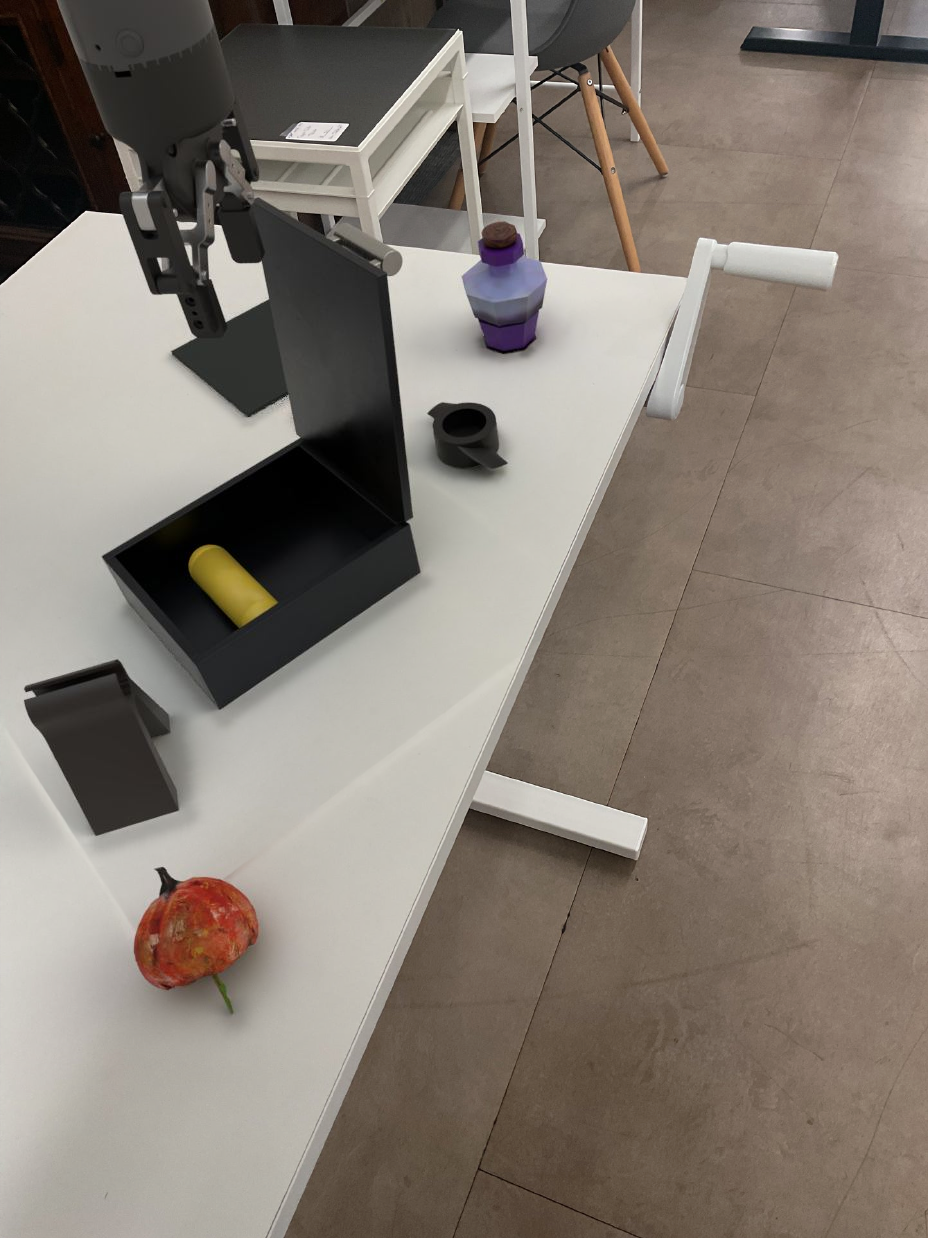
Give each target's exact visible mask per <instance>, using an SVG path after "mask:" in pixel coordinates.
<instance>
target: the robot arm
mask: <svg viewBox="0 0 928 1238" xmlns="http://www.w3.org/2000/svg"><path fill="white" fill-rule="evenodd" d="M56 2H57V3H56V4H57V5H58V9H59V11H60V14H61V17H62V19H63V22H64V24H65V27H66V29H67V32H68V35H69V37H70V40H71V43H72V45H73V48H74V50H75V53H76V56H77V58H78V62H79V63H80V67H81V69H82V71H83V74H84V77H85V79H86V81H87V85H88V87H89V90H90V92H91V95H92V97H93V100H94V103H95V105H96V108H97V110H98V113H99V116H100V119H101V121H102V123H103V126H104V128H105V130H106V132H107V133H108V135H110V136H111V137H112V138H113V139H115V140H116V141H118V142H120V143H123V144H124V145H126V146H128V147H129V148H130V149H132V150H133V151H134V152H135V153H136V154H137V157H138V162H139V163H138V164H139V166H140V172H141V173H140V175H141V181H142V185H141V186H140V187H139V189H138V190H134V191H122V192H121V193H119V197H118V206H119V209H120V211H121V214H122V217H123V219H124V222H125V225H126V228H127V231H128V234H129V236H130V239H131V243H132V245H133V248H134V250H135V251H134V252H135V253H136V256H137V259H138V262H139V264H140V267H141V270H142V273H143V277H144V278H145V282H146V285H147V287H148V289H149V292H150V293H151V294H152V295H153V296H162V295H176V296H177V299H178V301H179V304H180V307H181V310H182V311H183V315H184V317H185V318H184V319H185V320H186V323H187V326H188V328H189V330H190V333H191V334H192V335H193V336H194V338H197V337H198V338H221V337H223V335H224V333H225V331H226V329H227V324H226V322H227V321H226V318H225V315H224V313H223V310H222V306H221V304H220V301H219V298H218V295H217V294H218V293H217V292H216V289H215V286H214V283H213V280H212V279H211V278H210V270H209V268H210V267H209V266H210V265H209V248H210V247H211V246H212V245H213V244H214V243H215V240H216V232H215V211H216V207H219V208H218V210H217V213H216V214H217V217H218V219H219V223H220V226H221V230H222V233H223V235H224V239H225V242H226V244H227V248H228V251H229V255H230V257H231V259H232V261H233V262H235V263H237V264H241V265H242V264H260V263H262V259H263V257H264V255H265V251H264V247H263V244H262V240H261V237H260V233H259V230H258V226H257V223H256V220H255V216H254V213H253V209H252V206H250V205H253V203H254V199H255V192H254V189H253V186H252V185H251V184H252V183H257V182H259V180H260V169H259V165H258V162H257V159H256V156H255V152H254V148H253V146H252V143H251V138H250V136H249V135H250V134H249V132H248V129H247V125H246V122H245V120H244V115H243V112H242V109H241V106H240V102H239V100H238V96H237V93H236V91H235V89H234V88H233V86H232V85H233V84H232V81H231V78H230V75H229V71H228V67H227V64H226V61H225V57H224V54H223V49H222V46H221V43H220V38H219V35H218V31H217V28H216V24H215V21H214V17H213V13H212V10H211V7H210V4H209V3H210V2H209V0H56ZM232 150H233V151H234V150H235V151H236V152H238V154H239V157H240V160H241V162H239V160H238V159H237V158H236V157H235V156H234V155H233V153H232ZM179 223H196V225H195V226H194V227H193V228H191V229H180V227H179ZM186 246H190V247H191V261H192V263H191V261H190V258H189V255H188V252H187V249H186ZM158 259H161V265H160V263H159V260H158Z"/></svg>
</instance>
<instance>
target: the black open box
mask: <svg viewBox="0 0 928 1238" xmlns="http://www.w3.org/2000/svg"><path fill="white" fill-rule="evenodd" d="M205 545H216V546H219V547H221V548H223V549H224V550H226V551H227V552H228V553H229V554H230V555H231V556H232V557H233V558H234V559H235V560H236V561H237V562H238V563H239V564H240V565H241V566H242V567H243V568H244V569H245V570H246V571H247V572H248V573H249V574H250V575H251V576H252V577H253V578H254V579H255V580H256V581H257V582H258V583H259V584H260V585H261V586H262V587H263V588H264V589H265V590H266V591H267V592H268V593H269V594H270V595H271V596H272V597H273V598H274V599H275V600H276V601H277V602H278V603H277V604H276V605H274V606H272V607H271V608H269V609H268V610H266V611H265V612H263V613H262V614H260V615H259V616H257V617H256V618H254V619H253V620H251V621H250V622H248V623H247V624H245V625H244V626H242V627H241V628H238V627H237V626H236V625H235V623H234V622H233V621H232V620H231V619H230V618H229V617H228V616H227V615H226V614H225V613H224V612H223V611H222V610H221V609H220V608H219V606H218V605H217V604H216V603H215V602H214V601H213V600H212V599H211V598H210V597H209V596H208V595H207V594H206V593H205V592H204V591H203V589H202V588H201V587H200V586H199V585H198V584H197V583H196V582H195V581H194V580H193V578H192V577H191V575H190V572H189V560H190V557H191V555H192V554H193V553H194V551H195V550H197V549H198V548H200V547H202V546H205ZM415 545H416V544H415V541H414V535H413V531H412V527H411V524H410V523H409V522H408V521H406V522H405V521H404V520H402V519H401V518H400V517H399V516H397V515H396V514H395V513H394V512H392V511H391V510H390V509H389V508H387V507H386V506H385V505H384V504H382V503H381V502H380V501H379V500H377V499H376V498H375V497H374V496H372V495H371V494H370V493H369V492H367V491H366V490H365V489H364V488H362V487H361V486H360V485H359V484H357V483H356V482H355V481H354V480H353V479H351V478H350V477H349V476H348V475H346V474H345V473H344V472H343V471H341V470H340V469H339V468H338V467H336V466H335V465H334V464H333V463H331V462H330V461H329V460H328V459H326V458H325V457H324V456H323V455H321V454H320V453H319V452H318V451H316V450H315V449H314V448H313V447H311V446H310V445H309V444H308V443H307V442H305V441H304V440H303V439H302V438H300V437H299V438H297V439H296V440H294V441H292V442H290V443H289V444H287V445H285V446H284V447H282V448H280V449H279V450H277V451H276V452H274V453H271V454H270V455H268V456H267V457H265V458H264V459H262V460H260V461H259V462H257V463H255V464H254V465H252V466H250V467H248V468H247V469H245V470H243V471H242V472H240V473H238V474H236V475H235V476H234V477H232V478H230V479H228V480H227V481H225V482H223V483H221V484H220V485H218V486H217V487H215V488H214V489H211V490H210V491H208V492H207V493H205V494H203V495H202V496H200V497H198V498H197V499H194V500H193V501H192V502H190V503H188V504H187V505H185V506H183V507H181V508H180V509H178V510H177V511H175V512H173V513H172V514H170V515H168V516H166V517H165V518H163V519H161V520H160V521H158V522H156V523H154V524H153V525H151V526H150V527H148V528H146V529H145V530H143V531H141V532H139V533H137V534H136V535H134V536H133V537H131V538H130V539H128V540H126V541H124V542H122V543H121V544H119V545H118V546H116V547H115V548H113V549H111V550H109V551H108V552H106V553H104V554H103V555H101V558H102V560H103V562H104V564H105V565H106V567H107V568H108V571H109V573H110V574H111V576H112V578H113V580H114V581H115V583H116V584H117V586H118V589H119V590H120V591H121V593H122V595H123V598H124V599H125V600H126V602H127V603H128V604H129V606H130V607H131V608H132V609H133V610H134V612H135V613H136V614H137V615H138V616H139V617H140V618H141V620H142V621H143V622H144V623H145V624H146V626H148V628H149V629H150V630H151V631H152V633H153V634H154V635H155V636H156V637H157V639H158V640H159V641H160V642H161V643H162V645H164V647H165V648H166V649H167V651H168V652H170V654H171V655H172V657H174V658H175V660H176V661H177V662H178V663H179V665H180V666H181V667H182V668H183V669H184V670H185V671H186V673H187V674H188V675H189V676H190V677H191V679H192V680H193V681H194V682H195V683H196V684H197V686H198V687H199V688H200V689H201V690H202V691H203V692H204V694H205V695H206V696H207V697H208V698H209V699H210V701H211V702H212V703H213V704H214V705H215V707H216V708H217V709H218V710H219V711H221V710H223V709H224V708H225V707H227V706H228V705H230V704H232V702H234V701H235V700H237V699H238V698H240V697H242V696H243V695H244V694H246V693H248V692H249V691H250V690H251V689H253V688H255V687H256V686H257V685H259V684H260V683H262V682H263V681H264V680H266V679H268V678H269V677H270V676H272V675H274V674H275V673H277V671H279V670H281V669H282V668H284V667H285V666H286V665H288V664H290V663H291V662H292V661H294V660H295V659H296V658H298V657H300V656H301V655H303V654H304V653H305V652H308V650H310V649H311V648H313V647H314V646H316V645H317V644H319V643H320V642H321V641H323V640H324V639H326V638H328V637H329V636H330V635H332V634H333V633H335V632H336V631H338V630H339V629H341V628H342V627H343V626H345V625H346V624H348V623H349V622H350V621H352V620H353V619H356V617H358V616H359V615H361V614H362V613H364V612H365V611H367V610H369V609H370V608H371V607H373V606H374V605H376V604H377V603H379V602H380V601H381V600H382V599H384V598H386V597H387V596H389V595H390V594H391V593H393V592H394V591H395V590H397V589H398V588H400V587H401V586H403V585H405V584H406V583H408V582H409V581H411V580H413V578H415V577H417V575H419V574H421V573H422V572H421V567H420V563H419V558H418V554H417V553H418V552H417V549H416V546H415Z"/></svg>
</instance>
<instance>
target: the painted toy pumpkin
mask: <svg viewBox="0 0 928 1238" xmlns="http://www.w3.org/2000/svg"><path fill="white" fill-rule="evenodd" d="M153 870H154V871H155V872H157V874H158V876H159V879H160V883H161V885H160V889H159V893H158V897H157V898H155V899H154V900H153V901H152V902H150V904H149V906H148V908H146V910H145V911H144V913H143V915H142V917H141V920H140V921H139V924H138V925H137V929H136V931H135V934H134V935H135V936H134V939H133V954H134V959H135V962H136V965H137V967H138V969H139V971H140V973H141V975H142V977H143V978H144V979H145V980H146V981H147V982H148V984H150V985H152V986H153V987H156V988H157V989H160V990H164V991H170V990H172V989H175V988H176V987H178V988H179V987H182V988H183V987H187V986H190V985H192V984H194V983H196V982H197V981H198V980H199V979H202V978H206V977H207V976H208V977H209V976H211V978H212V979H213V981H214V982H215V984H216V987H217V989H218V990H219V992H220V994H221V996H222V998H223V1000H224V1002H225V1004H226V1007H227V1009H228V1011H229V1013H230V1014H231V1015H233V1014H234V1010H233V1006H232V1002H231V1000H230V998H229V997H228V994H227V985H226V984H225V983H223V982H222V981H221V980H220V978H219V976H218V974H220V973H222V972H223V971H226V970H227V969H228V968H230V967H231V966H232V965H233V964H234V962H236V961H237V960H238V959H240V958H242V956H243V955H244V954H245V952H246V951H247V949H248V947H249V946H253V945H254V944H256V943H257V939H258V936H259V920H258V916H257V912H256V910H255V908H254V905H252V902H251V901H250V900H249V898H248V896H246V895H245V894H244V893H243V892H242V891H241V890H240V889H239V888H237V887H236V886H234V885H233V884H231V883H229V882H227V881H225V880H223V879H221V878H215V877H212V876H211V877H208V876H193V877H190V878H189V879H186V880H182V881H181V880H179V879H175V878H174V877H173V876H172V875H170V873H169V872H168V870H167V868H166V867H165V866H159V867H155V868H153Z"/></svg>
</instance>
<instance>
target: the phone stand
mask: <svg viewBox="0 0 928 1238" xmlns="http://www.w3.org/2000/svg"><path fill="white" fill-rule="evenodd" d="M23 690H24V692H25V693H30V692H32V693H33V694H34V696H33V697H28V698H26V699H23V704H24V707H25V711H26V713H27V716H28V718H29V720H30V722H31V724H32V725H33V726H34V727H35V729H36V730H38V732H39V733H40V734H41V735H42V737H43V738H44V741H45V742H46V743H47V746H48V748H49V749H50V751H51V753H52V755H53V757H54V759H55V761H56V763H57V765H58V766H59V767H58V768H59V769H60V771H61V772H62V775H63V776H64V778H65V780H66V782H67V784H68V786H69V788H70V790H71V791H72V793H73V795H74V797H75V799H76V801H77V804H78V805H79V807H80V809H81V811H82V813H83V815H84V816H85V819H86V821H87V823H88V824H89V826H90V828H91V830H92V832H93V835H94V836H95V837H98V836H101V835H105V834H108V833H111V832H114V831H117V830H121V829H124V828H127V827H131V826H134V825H137V824H140V823H143V822H147V821H151V820H152V819H157V818H160V817H163V816H166V815H170V814H173V813H176V812H179V811H180V808H179V797H178V790H177V787H176V786H175V784H174V781H173V780H172V777H171V775H170V774H169V772H168V769H167V767H166V765H165V763H164V760H163V759H162V757H161V755H160V753H159V751H158V749H157V747H156V745H155V743H154V741H153V738H157V737H160V736H164V735H166V734H170V733H171V723H170V715H169V713H168V712H167V711H166V710H165V709H164V708H162V706H160V705H159V704H158V703H157V702H156V701H155V700H154V699H153V698H152V697H151V696H150V695H149V694H147V692H146V691H144V690H143V689H142V688H141V687H140V686H139V685H138V684H137V683H136V682H135V681H134V680H133V679H132V678H131V677H130V675H129V674H128V672H127V670H126V668H125V667H124V665H123V663H122V662H121V661H120V660H119V659H118V658H117V659H113V660H109V661H106V662H103V663H102V662H101V663H99V664H96V665H92V666H88V667H85V668H82V669H78V670H74V671H71V672H69V673H65V674H60V675H58V676H54V677H51V678H47V679H44V680H41V681H37V682H34V683H30V684H27V685H24V688H23Z"/></svg>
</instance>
